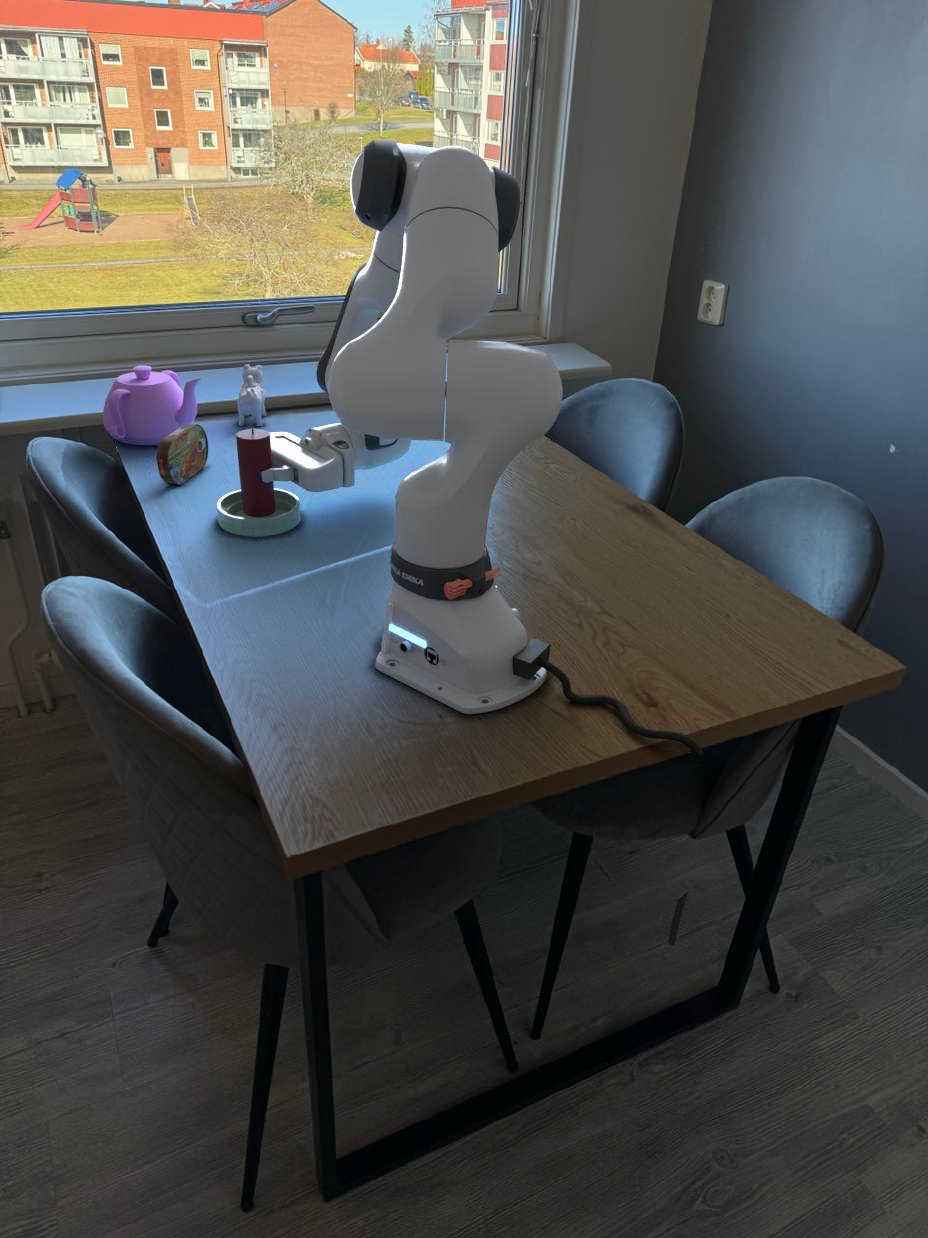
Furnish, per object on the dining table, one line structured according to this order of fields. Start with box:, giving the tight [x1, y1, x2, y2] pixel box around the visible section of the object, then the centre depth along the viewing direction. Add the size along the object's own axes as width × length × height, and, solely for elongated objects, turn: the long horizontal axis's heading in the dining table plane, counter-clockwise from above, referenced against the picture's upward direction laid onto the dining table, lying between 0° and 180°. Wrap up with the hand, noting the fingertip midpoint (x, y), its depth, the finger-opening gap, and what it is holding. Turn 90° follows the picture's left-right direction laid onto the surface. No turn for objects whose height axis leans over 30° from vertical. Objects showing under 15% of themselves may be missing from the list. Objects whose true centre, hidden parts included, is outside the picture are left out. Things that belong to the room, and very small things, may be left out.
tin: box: [155, 423, 209, 485], centre depth 158 cm, size 15×3×8 cm, turn 168°
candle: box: [235, 427, 275, 517], centre depth 140 cm, size 5×5×14 cm
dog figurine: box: [236, 363, 267, 427], centre depth 186 cm, size 5×13×11 cm, turn 6°
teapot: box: [102, 365, 202, 446], centre depth 172 cm, size 22×22×14 cm
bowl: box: [216, 487, 302, 538], centre depth 144 cm, size 13×13×3 cm
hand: (250, 470), depth 139 cm, fingers closed on candle, 5 cm apart
